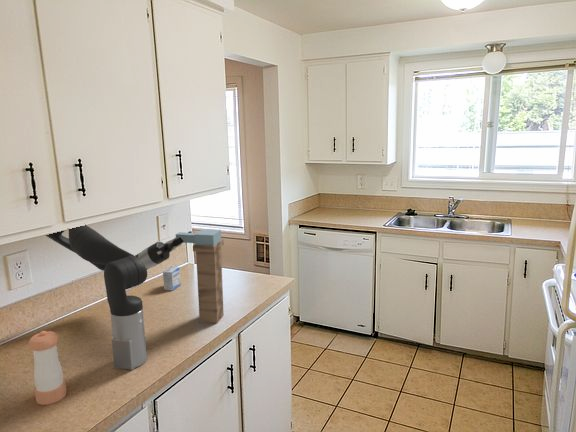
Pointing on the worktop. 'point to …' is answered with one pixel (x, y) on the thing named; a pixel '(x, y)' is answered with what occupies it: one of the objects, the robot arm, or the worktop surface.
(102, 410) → the worktop surface
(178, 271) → the medicine box
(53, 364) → the salt shaker
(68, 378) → the worktop surface
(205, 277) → the walnut stand
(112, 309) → the robot arm
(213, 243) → the blue-grey stepped block
